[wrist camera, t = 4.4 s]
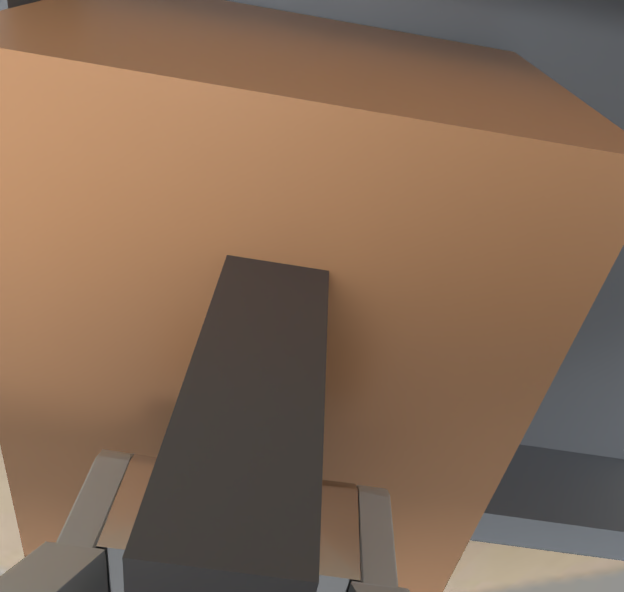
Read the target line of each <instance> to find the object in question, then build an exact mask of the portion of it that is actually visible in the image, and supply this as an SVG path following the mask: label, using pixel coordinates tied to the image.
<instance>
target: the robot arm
mask: <svg viewBox="0 0 624 592" xmlns="http://www.w3.org/2000/svg"><path fill="white" fill-rule="evenodd" d="M156 459H157V457H151V456H145V455H139V454H133V453H126V452H119V451H112V450H105V449H102V450H101V452H100V453H99V454H98V455H97V456H96V458H95V460H94V462H93V464H92V466H91V468H90V470H89V473H88V475H87V477H86V479H85V481H84V483H83V485H82V488H81V490H80V492H79V494H78V496H77V498H76V500H75V503H74V505H73V507H72V509H71V511H70V513H69V515H68V518H67V520H66V522H65V524H64V526H63V528H62V530H61V533H60V535H59V537H58V539H57V541H56V542H44V543H43V544H42V545H41V546H39V547H38V548H37V549H35V550H34V551H33V552H31V553H30V554H29V555H27V556H26V557H25V558H23V559H22V560H21V561H20V562H18V563H17V564H16V565H14V566H13V567H12V568H10V569H9V570H8V571H6V572H5V573H4V574H2V575H1V576H0V592H124V581H123V562H122V557H123V554H124V551H125V548H126V545H127V543H128V540H129V537H130V534H131V531H132V528H133V525H134V522H135V519H136V516H137V514H138V511H139V508H140V505H141V502H142V499H143V496H144V493H145V490H146V488H147V485H148V482H149V479H150V476H151V473H152V470H153V467H154V464H155V462H156ZM316 592H410V591H409V589H408V588H402V587H398V577H397V566H396V555H395V544H394V533H393V522H392V511H391V500H390V494H389V492H388V490H387V489H385V488H378V487H370V486H363V485H356V484H354V483H346V482H337V481H329V480H322V506H321V536H320V567H319V584H318V588H317V591H316Z"/></svg>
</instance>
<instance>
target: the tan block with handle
mask: <svg viewBox="0 0 624 592" xmlns="http://www.w3.org/2000/svg"><path fill="white" fill-rule="evenodd" d="M623 245H624V130H622V129H621V128H619V127H618V126H617V125H615V124H614V123H612V122H611V121H610V120H608V119H607V118H606V117H604V116H603V115H601V114H600V113H599V112H597V111H596V110H594V109H593V108H592V107H590V106H589V105H587V104H586V103H585V102H583V101H582V100H581V99H579V98H578V97H576V96H575V95H574V94H572V93H571V92H569V91H568V90H567V89H565V88H564V87H562V86H561V85H560V84H558V83H557V82H556V81H554V80H553V79H551V78H550V77H549V76H547V75H546V74H544V73H543V72H542V71H540V70H539V69H537V68H536V67H535V66H533V65H532V64H531V63H529V62H528V61H526V60H525V59H524V58H522V57H521V56H519V55H518V54H517V53H515V52H512V51H506V50H501V49H495V48H489V47H484V46H478V45H473V44H467V43H461V42H456V41H450V40H445V39H439V38H433V37H428V36H422V35H417V34H411V33H405V32H400V31H394V30H388V29H383V28H377V27H372V26H366V25H360V24H355V23H349V22H344V21H338V20H332V19H327V18H321V17H316V16H310V15H304V14H299V13H293V12H287V11H282V10H276V9H271V8H265V7H259V6H254V5H248V4H243V3H237V2H231V1H226V0H41V1H37V2H33V3H29V4H25V5H21V6H17V7H13V8H9V9H5V10H1V11H0V445H1V450H2V454H3V459H4V464H5V468H6V473H7V477H8V482H9V487H10V491H11V496H12V500H13V505H14V510H15V514H16V519H17V523H18V528H19V533H20V537H21V542H22V546H23V551H24V556H25V557H26V556H27V555H29V554H30V553H31V552H33V551H34V550H35V549H37V548H38V547H39V546H41V545H42V544H43V543H44V542H56V541H57V539H58V537H59V535H60V533H61V530H62V528H63V526H64V524H65V522H66V520H67V518H68V515H69V513H70V511H71V509H72V507H73V505H74V503H75V500H76V498H77V496H78V494H79V492H80V490H81V488H82V485H83V483H84V481H85V479H86V477H87V475H88V473H89V470H90V468H91V466H92V464H93V462H94V460H95V458H96V456H97V455H98V454H99V453H100V452H101V450H102V449H105V450H112V451H119V452H126V453H133V454H139V455H145V456H151V457H157V459H156V462H155V464H154V467H153V470H152V473H151V476H150V479H149V482H148V485H147V488H146V490H145V493H144V496H143V499H142V502H141V505H140V508H139V511H138V514H137V516H136V519H135V522H134V525H133V528H132V531H131V534H130V537H129V540H128V543H127V545H126V548H125V551H124V554H123V557H122V562H123V581H124V592H316V591H317V588H318V584H319V567H320V536H321V506H322V480H329V481H337V482H346V483H354V484H356V485H363V486H370V487H378V488H385V489H387V490H388V492H389V494H390V500H391V511H392V522H393V533H394V544H395V555H396V566H397V577H398V587H402V588H408V589H409V591H410V592H443V590H444V588H445V586H446V585H447V583H448V581H449V579H450V577H451V575H452V573H453V571H454V569H455V567H456V565H457V563H458V562H459V560H460V558H461V556H462V554H463V552H464V550H465V548H466V546H467V544H468V542H469V540H470V539H471V537H472V535H473V533H474V531H475V529H476V527H477V525H478V523H479V521H480V519H481V517H482V516H483V514H484V512H485V510H486V508H487V506H488V504H489V502H490V500H491V498H492V496H493V494H494V493H495V491H496V489H497V487H498V485H499V483H500V481H501V479H502V477H503V475H504V473H505V471H506V470H507V468H508V466H509V464H510V462H511V460H512V458H513V456H514V454H515V452H516V450H517V448H518V446H519V445H520V443H521V441H522V439H523V437H524V435H525V433H526V431H527V429H528V427H529V425H530V423H531V422H532V420H533V418H534V416H535V414H536V412H537V410H538V408H539V406H540V404H541V402H542V400H543V399H544V397H545V395H546V393H547V391H548V389H549V387H550V385H551V383H552V381H553V379H554V377H555V376H556V374H557V372H558V370H559V368H560V366H561V364H562V362H563V360H564V358H565V356H566V354H567V353H568V351H569V349H570V347H571V345H572V343H573V341H574V339H575V337H576V335H577V333H578V331H579V330H580V328H581V326H582V324H583V322H584V320H585V318H586V316H587V314H588V312H589V310H590V308H591V307H592V305H593V303H594V301H595V299H596V297H597V295H598V293H599V291H600V289H601V287H602V285H603V283H604V282H605V280H606V278H607V276H608V274H609V272H610V270H611V268H612V266H613V264H614V262H615V260H616V259H617V257H618V255H619V253H620V251H621V249H622V247H623Z"/></svg>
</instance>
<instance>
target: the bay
mask: <svg viewBox="0 0 624 592" xmlns="http://www.w3.org/2000/svg"><path fill="white" fill-rule="evenodd" d="M37 1H41V0H0V11H1V10H5V9H9V8H13V7H17V6H21V5H25V4H29V3H33V2H37ZM226 1H231V2H237V3H243V4H248V5H254V6H259V7H265V8H271V9H276V10H282V11H287V12H293V13H299V14H304V15H310V16H316V17H321V18H327V19H332V20H338V21H344V22H349V23H355V24H360V25H366V26H372V27H377V28H383V29H388V30H394V31H400V32H405V33H411V34H417V35H422V36H428V37H433V38H439V39H445V40H450V41H456V42H461V43H467V44H473V45H478V46H484V47H489V48H495V49H501V50H506V51H512V52H515V53H517V54H518V55H519V56H521V57H522V58H524V59H525V60H526V61H528V62H529V63H531V64H532V65H533V66H535V67H536V68H537V69H539V70H540V71H542V72H543V73H544V74H546V75H547V76H549V77H550V78H551V79H553V80H554V81H556V82H557V83H558V84H560V85H561V86H562V87H564V88H565V89H567V90H568V91H569V92H571V93H572V94H574V95H575V96H576V97H578V98H579V99H581V100H582V101H583V102H585V103H586V104H587V105H589V106H590V107H592V108H593V109H594V110H596V111H597V112H599V113H600V114H601V115H603V116H604V117H606V118H607V119H608V120H610V121H611V122H612V123H614V124H615V125H617V126H618V127H619V128H621V129H622V130H624V0H226ZM470 540H472V541H480V542H487V543H495V544H502V545H510V546H517V547H525V548H532V549H539V550H547V551H554V552H562V553H569V554H577V555H584V556H592V557H599V558H607V559H614V560H622V561H624V245H623V247H622V249H621V251H620V253H619V255H618V257H617V259H616V260H615V262H614V264H613V266H612V268H611V270H610V272H609V274H608V276H607V278H606V280H605V282H604V283H603V285H602V287H601V289H600V291H599V293H598V295H597V297H596V299H595V301H594V303H593V305H592V307H591V308H590V310H589V312H588V314H587V316H586V318H585V320H584V322H583V324H582V326H581V328H580V330H579V331H578V333H577V335H576V337H575V339H574V341H573V343H572V345H571V347H570V349H569V351H568V353H567V354H566V356H565V358H564V360H563V362H562V364H561V366H560V368H559V370H558V372H557V374H556V376H555V377H554V379H553V381H552V383H551V385H550V387H549V389H548V391H547V393H546V395H545V397H544V399H543V400H542V402H541V404H540V406H539V408H538V410H537V412H536V414H535V416H534V418H533V420H532V422H531V423H530V425H529V427H528V429H527V431H526V433H525V435H524V437H523V439H522V441H521V443H520V445H519V446H518V448H517V450H516V452H515V454H514V456H513V458H512V460H511V462H510V464H509V466H508V468H507V470H506V471H505V473H504V475H503V477H502V479H501V481H500V483H499V485H498V487H497V489H496V491H495V493H494V494H493V496H492V498H491V500H490V502H489V504H488V506H487V508H486V510H485V512H484V514H483V516H482V517H481V519H480V521H479V523H478V525H477V527H476V529H475V531H474V533H473V535H472V537H471V539H470Z"/></svg>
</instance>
